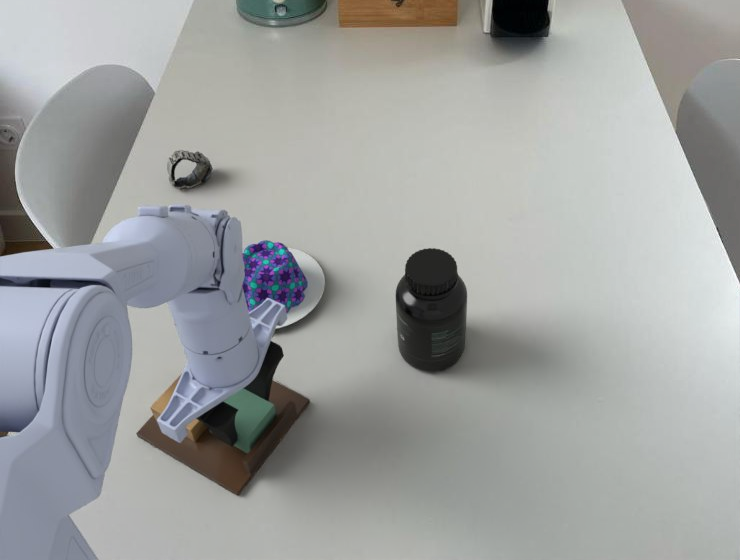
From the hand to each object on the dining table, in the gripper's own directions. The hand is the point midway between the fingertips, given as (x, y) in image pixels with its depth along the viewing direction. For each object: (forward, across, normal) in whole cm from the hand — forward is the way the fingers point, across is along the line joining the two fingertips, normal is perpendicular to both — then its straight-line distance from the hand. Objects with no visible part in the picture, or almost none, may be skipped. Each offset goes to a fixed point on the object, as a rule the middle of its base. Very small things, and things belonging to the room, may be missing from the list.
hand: (242, 419), depth 75 cm
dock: (+2, 0, -2) cm, 3 cm away
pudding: (+2, -15, -8) cm, 17 cm away
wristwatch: (+2, -25, -28) cm, 38 cm away
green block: (+1, 0, 0) cm, 1 cm away
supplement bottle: (+2, -17, +10) cm, 20 cm away
